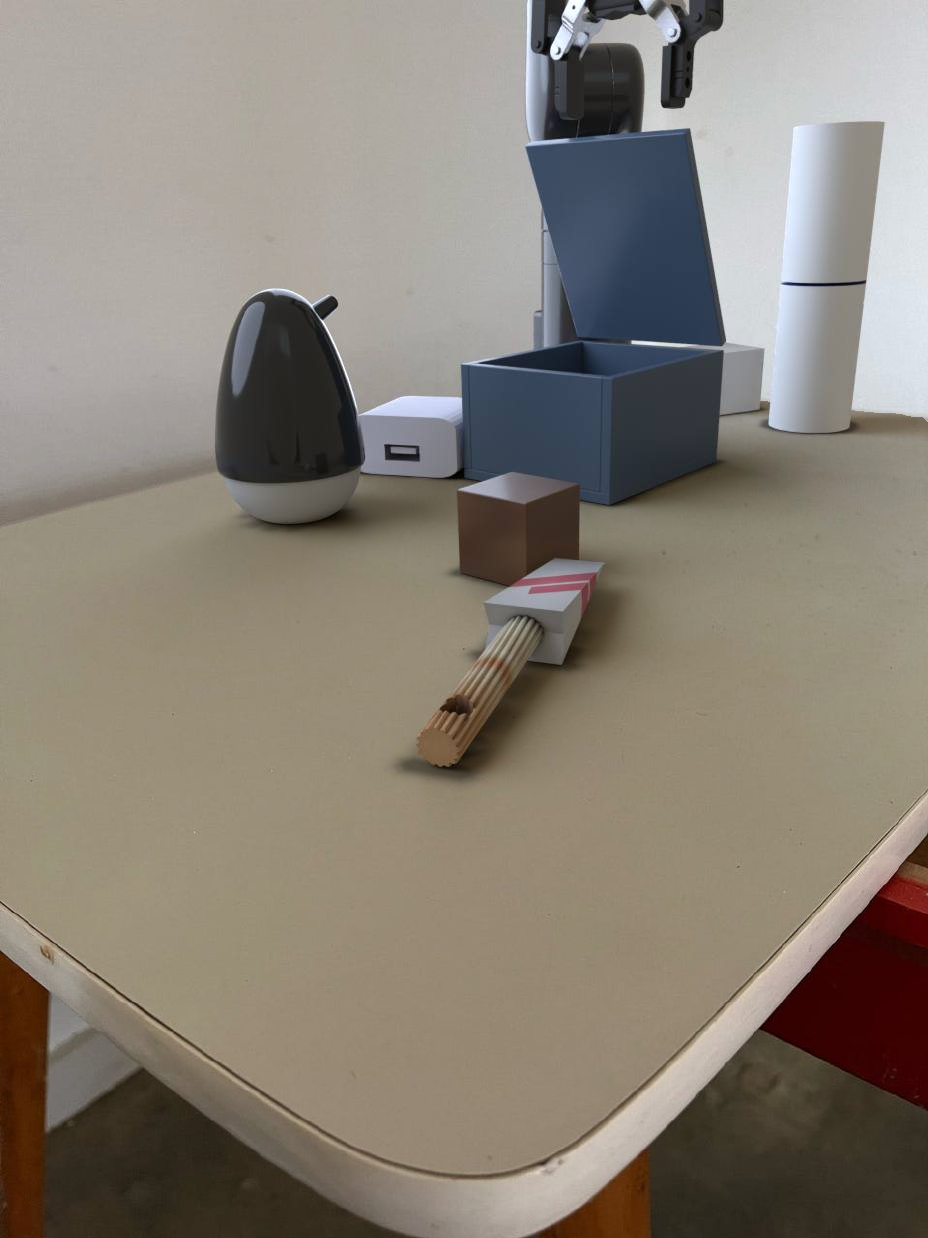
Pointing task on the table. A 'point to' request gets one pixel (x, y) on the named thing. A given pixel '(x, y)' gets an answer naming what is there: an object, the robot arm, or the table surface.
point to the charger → (414, 437)
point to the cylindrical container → (824, 274)
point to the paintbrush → (511, 650)
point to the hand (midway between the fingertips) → (620, 113)
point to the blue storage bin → (593, 415)
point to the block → (516, 525)
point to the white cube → (740, 377)
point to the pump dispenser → (286, 412)
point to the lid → (630, 236)
